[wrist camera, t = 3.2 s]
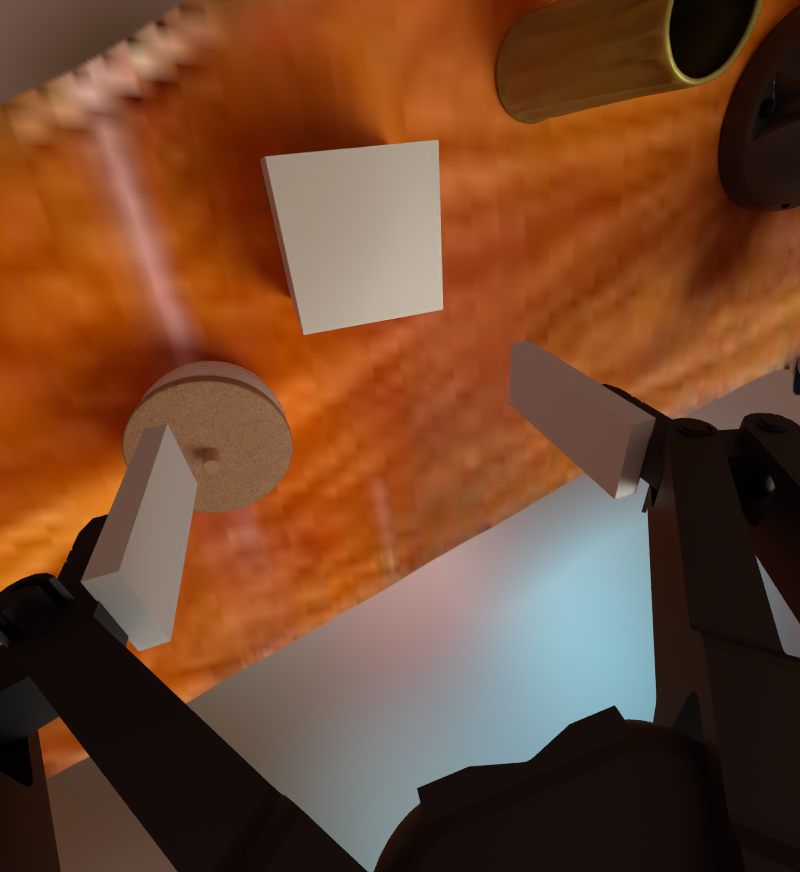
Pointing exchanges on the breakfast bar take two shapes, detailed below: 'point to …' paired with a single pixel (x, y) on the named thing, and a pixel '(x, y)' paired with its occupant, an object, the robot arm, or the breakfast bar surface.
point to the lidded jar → (218, 431)
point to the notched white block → (358, 232)
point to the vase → (616, 52)
